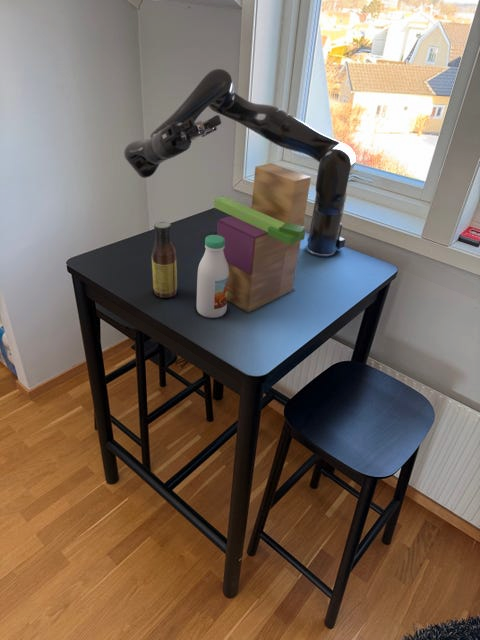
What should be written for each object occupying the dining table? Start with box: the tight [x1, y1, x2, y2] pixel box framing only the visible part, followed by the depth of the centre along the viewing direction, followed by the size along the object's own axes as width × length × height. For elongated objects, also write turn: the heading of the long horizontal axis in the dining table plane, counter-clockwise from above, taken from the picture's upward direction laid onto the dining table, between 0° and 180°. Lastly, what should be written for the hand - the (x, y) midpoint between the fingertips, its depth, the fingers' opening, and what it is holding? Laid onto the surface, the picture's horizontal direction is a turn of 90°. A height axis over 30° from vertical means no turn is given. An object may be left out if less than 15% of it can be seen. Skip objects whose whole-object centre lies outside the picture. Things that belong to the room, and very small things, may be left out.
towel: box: [216, 215, 268, 275], centre depth 118 cm, size 12×12×10 cm
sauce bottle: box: [151, 220, 178, 299], centre depth 119 cm, size 6×6×20 cm
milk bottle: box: [196, 234, 229, 319], centre depth 114 cm, size 8×8×20 cm
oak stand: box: [227, 162, 312, 313], centre depth 120 cm, size 13×18×32 cm
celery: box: [213, 195, 306, 245], centre depth 114 cm, size 27×6×3 cm, turn 45°
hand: (206, 120), depth 114 cm, fingers open, 8 cm apart
